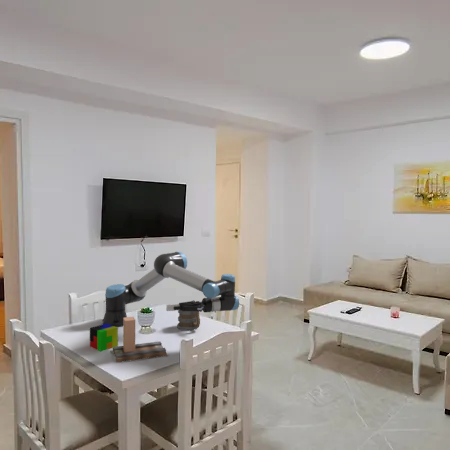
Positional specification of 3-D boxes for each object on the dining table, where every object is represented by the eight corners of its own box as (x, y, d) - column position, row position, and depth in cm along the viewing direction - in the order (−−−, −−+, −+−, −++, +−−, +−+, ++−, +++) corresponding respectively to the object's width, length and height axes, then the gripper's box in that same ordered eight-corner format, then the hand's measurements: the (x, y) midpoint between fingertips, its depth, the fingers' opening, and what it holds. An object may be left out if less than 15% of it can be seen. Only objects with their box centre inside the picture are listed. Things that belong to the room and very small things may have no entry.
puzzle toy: (106, 341, 221) (106, 323, 221) (117, 346, 215) (117, 327, 214) (89, 346, 214) (89, 327, 213) (101, 351, 207) (101, 332, 207)
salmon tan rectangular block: (133, 348, 207) (133, 316, 206) (135, 352, 202) (135, 319, 201) (123, 349, 205) (123, 317, 204) (124, 353, 200) (124, 320, 199)
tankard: (173, 326, 250) (173, 301, 249) (191, 322, 257) (191, 299, 256) (191, 335, 234) (191, 309, 233) (209, 331, 241) (209, 306, 240)
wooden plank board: (159, 345, 217) (159, 340, 217) (166, 355, 203) (166, 350, 202) (112, 350, 209) (112, 345, 208) (116, 362, 194) (116, 357, 194)
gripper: (214, 315, 212) (169, 319, 203) (206, 308, 224) (163, 311, 215) (215, 300, 211) (170, 304, 203) (206, 294, 223) (164, 297, 215)
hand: (166, 308), depth 209 cm, fingers closed
